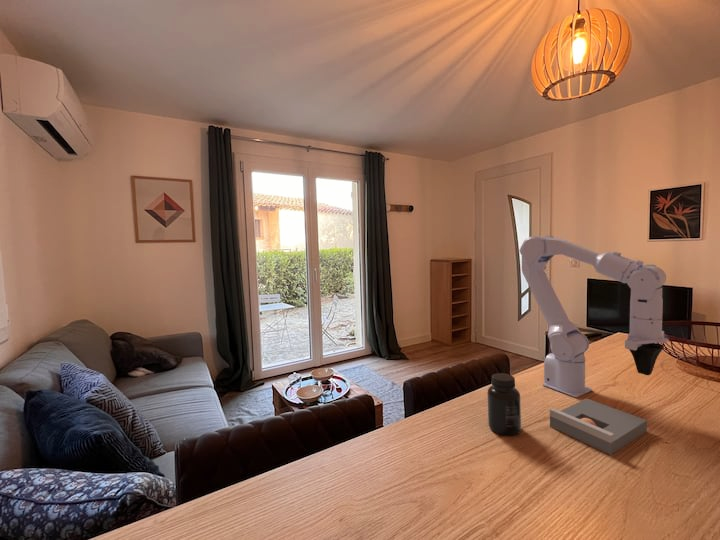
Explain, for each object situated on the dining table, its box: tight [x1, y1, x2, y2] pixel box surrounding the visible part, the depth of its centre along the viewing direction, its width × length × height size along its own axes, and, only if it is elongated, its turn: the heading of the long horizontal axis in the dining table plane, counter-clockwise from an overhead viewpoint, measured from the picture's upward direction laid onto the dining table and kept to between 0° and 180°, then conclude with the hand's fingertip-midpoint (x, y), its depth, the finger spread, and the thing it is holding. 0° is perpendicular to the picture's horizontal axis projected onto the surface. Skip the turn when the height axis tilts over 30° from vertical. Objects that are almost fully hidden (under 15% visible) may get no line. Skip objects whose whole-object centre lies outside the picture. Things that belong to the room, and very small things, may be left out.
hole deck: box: [549, 398, 648, 456], centre depth 72 cm, size 12×15×4 cm
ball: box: [580, 418, 596, 426], centre depth 70 cm, size 4×4×4 cm
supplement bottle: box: [486, 372, 522, 437], centre depth 74 cm, size 7×7×12 cm
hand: (644, 373), depth 78 cm, fingers closed
